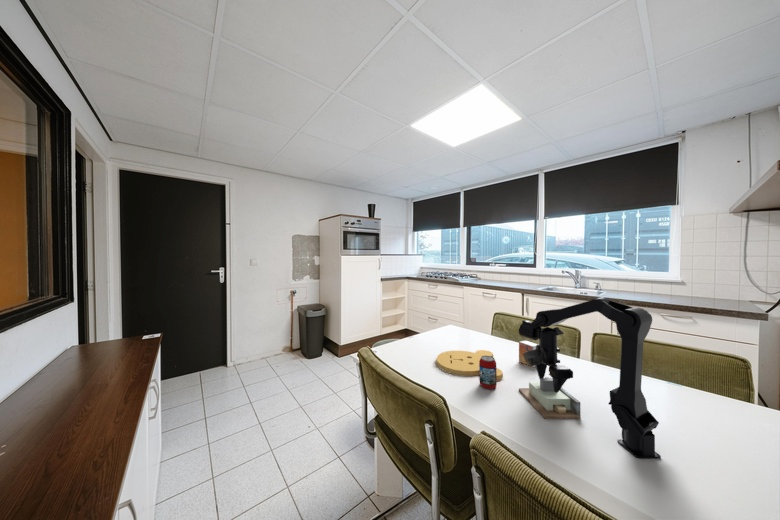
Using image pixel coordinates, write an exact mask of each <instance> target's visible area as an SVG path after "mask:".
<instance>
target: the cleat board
mask: <svg viewBox="0 0 780 520" xmlns="http://www.w3.org/2000/svg"><path fill="white" fill-rule="evenodd" d="M544 378H550V377H548V376H544ZM560 391H561V392H562V393H564V394H565V395H566V396H567V397H569V398H570V410H566V408H565V407H564V406H562V405H553V410H546V409H545V408H544V407H543V406H542V405H541V404H540V403H539V402H538V401H537V400H536V399H535V398H534V397H533V396H532V395H531V394H530V392H529V387H527V388H526V387H523V388H521V387H520V388H518V392H519V393H520V394H521V395H522V396H523V397H524V398H525V400H527V402H528V403H529V404H531V406H532V407H533V408H534V409H535V410H536V411H537V412H538V413H539V415H540V416H542V418H543V419H545V420H547V419H548V420H549V419H551V420H552V419H553V420H555V419H557V420H558V419H561V420H562V419H563V420H564V419H581V401H579V400H578V399H577V398H576V397H575V396H573V395H572V394H571V393H569V392H568V391H566V390H565V389H564V388H563V386H562V387H561V389H560Z"/></svg>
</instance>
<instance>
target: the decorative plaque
mask: <svg viewBox="0 0 780 520" xmlns="http://www.w3.org/2000/svg"><path fill="white" fill-rule="evenodd" d="M482 356H491V357H493V358H494V353H493V352H491V350H485V349H479V350H476V351H475V352H472V351H468V350H448V351H443V352H441V353H439V354H438V355H437V356H436V365H437V366H438V368H439V369H440V370H442V371H444V372H446V373H449V374H453V375H455V376H456V375H457V376H463V377H475V376H480V373H479V361H480V359H481V357H482ZM496 374H497V381H501V379H502V378H504V377H503V375H504V373H503V371H502V370H501V369H500V368H497V367H496ZM502 380H503V379H502Z"/></svg>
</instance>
